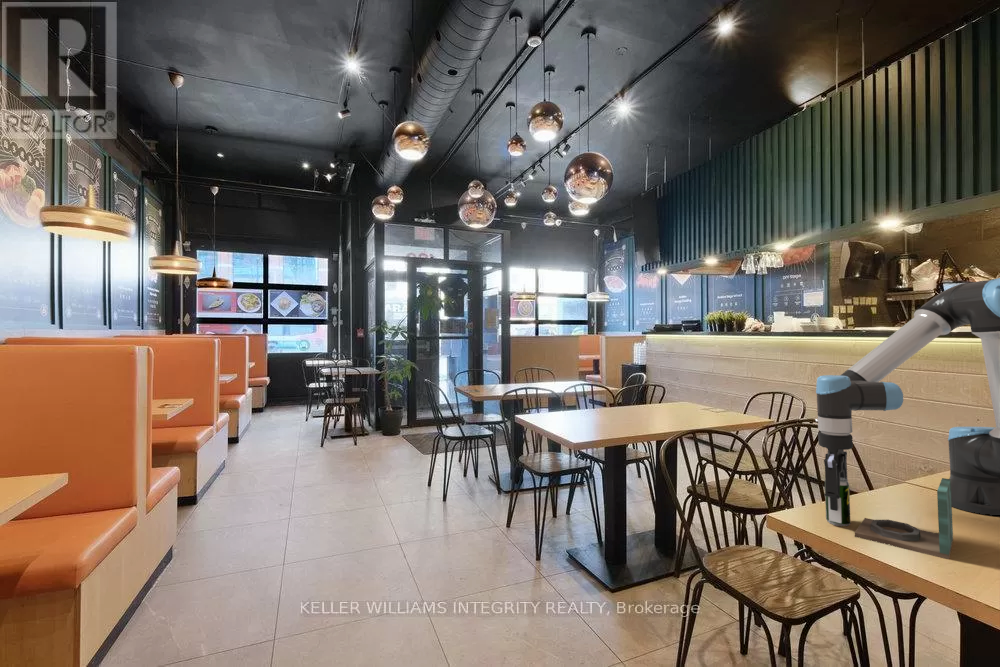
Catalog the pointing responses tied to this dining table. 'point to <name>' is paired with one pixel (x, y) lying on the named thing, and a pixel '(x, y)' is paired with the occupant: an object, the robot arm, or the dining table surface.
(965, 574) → the dining table surface
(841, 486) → the green drink can
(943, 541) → the seat plate
